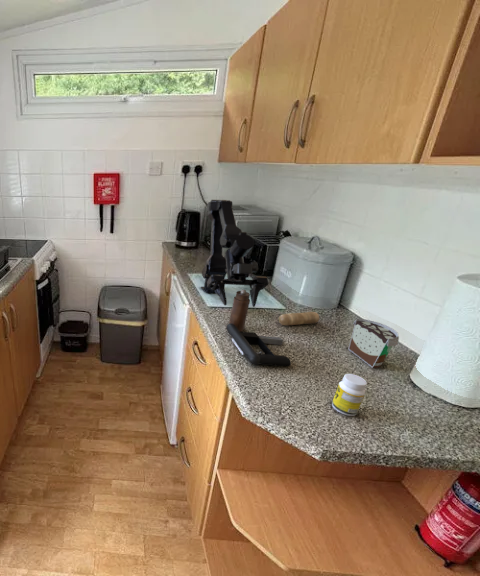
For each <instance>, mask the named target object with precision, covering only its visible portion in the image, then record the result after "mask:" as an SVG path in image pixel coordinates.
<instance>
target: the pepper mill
mask: <svg viewBox="0 0 480 576" xmlns="http://www.w3.org/2000/svg"><path fill="white" fill-rule="evenodd" d="M250 297H251V296H250V292H248V291H246V289H241V290H237V291H236V293H235V295H234V298H233V301H232V306H231V311H230V317H229V321H228V324H230V323H232V324H234V325H235V326H236V327H237V328H238V330H239V331H241V332H244V329H245V325H246V321H247V316H248V313H249V312H248V311H249V306H250V302H251V298H250Z"/></svg>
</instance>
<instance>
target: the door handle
mask: <svg viewBox="0 0 480 576" xmlns="http://www.w3.org/2000/svg"><path fill="white" fill-rule="evenodd" d="M224 329H225V330H226V331H227V332H228V334H229V335H230V336H231V341H232V343H233V344H234V345H235V347H236V348H237V349H238V351H239V352H240V354H241V355H242V356H244V357H245V359H247V361H248V362H249V363H250V364H251V365H253V366H258V365H263V366H264V365H265V366H276V367H290V366H291V359H290V358H289V357H288V356H286V355H278V354H274V352H273V351H272V350H271V349H270V347H268V346H267V344H268V345H280V346H281V345H283V343H284V339H283V338H282V337H279V336H267V335H258V334H257V333H256V332H252V331H239V330H238V328H237V327H236V326H235V325H234V324H232V323H230V324H229V323H228V324H227V325H226V327H225V328H224ZM252 345H253V346H258V348H259V349H260V351H259V352H257V351H256V350H255V348H254V347H253V346H252Z"/></svg>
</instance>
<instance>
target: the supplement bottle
mask: <svg viewBox="0 0 480 576" xmlns="http://www.w3.org/2000/svg"><path fill="white" fill-rule="evenodd" d="M367 385H368V382H367V381H366V379H364V378H363V377H361V376H360V375H357V374H354V373H345V374H344V376H343V377H342V380H341V381H339V383H338V385H337V388H336V391H335V393H334V396H333V399H332V402H331V406H332V408H333V409H334V410H335V411H337V412H338V413H340V414H342V415H345V416H348V417H354V416H356V415H357V414H358V412H359V410H360V408H361V405H362V403H363V400H364V399H365V396H366V388H367Z"/></svg>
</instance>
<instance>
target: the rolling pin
mask: <svg viewBox="0 0 480 576" xmlns="http://www.w3.org/2000/svg"><path fill="white" fill-rule="evenodd" d="M319 321H320V314H319V313H317V312H315V311H305V312H292V313H283V314H280V315H279V316H278V322H279V324H280V325H282V326H285V327H286V326H299V325H308V324H316V323H318V322H319Z"/></svg>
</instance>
